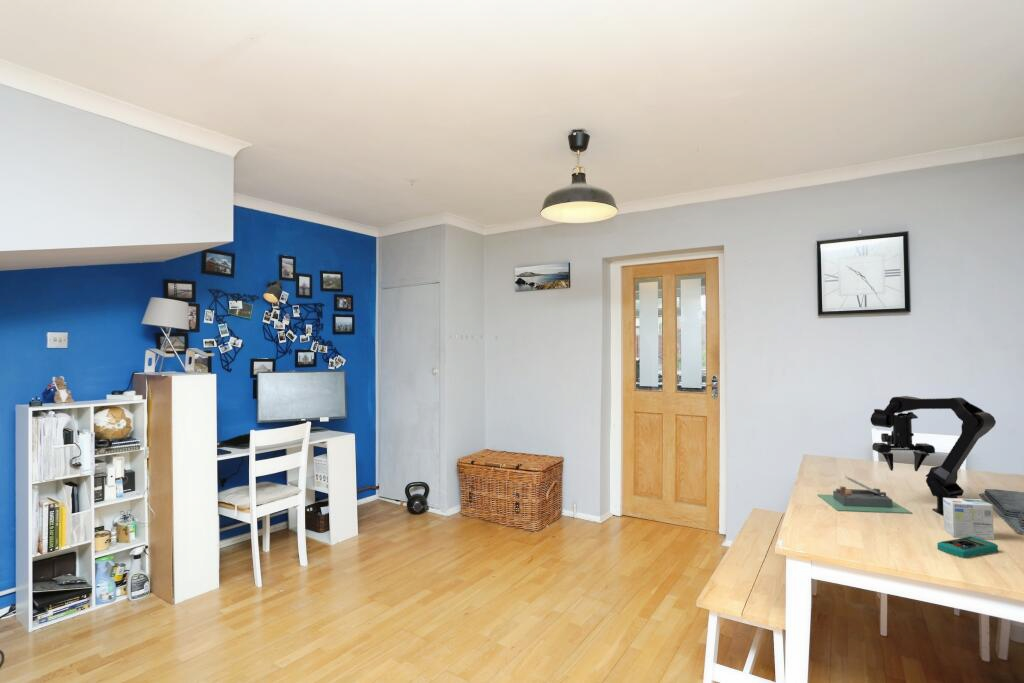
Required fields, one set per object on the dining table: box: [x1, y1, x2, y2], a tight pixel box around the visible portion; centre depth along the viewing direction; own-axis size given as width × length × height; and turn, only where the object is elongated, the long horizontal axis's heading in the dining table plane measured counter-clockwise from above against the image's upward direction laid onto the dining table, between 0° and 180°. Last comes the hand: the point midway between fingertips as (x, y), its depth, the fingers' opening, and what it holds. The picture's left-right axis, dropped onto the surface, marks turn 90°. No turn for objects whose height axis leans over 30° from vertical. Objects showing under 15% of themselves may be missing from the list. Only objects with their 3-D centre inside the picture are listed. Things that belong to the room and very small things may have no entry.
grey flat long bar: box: [844, 475, 879, 495], centre depth 200 cm, size 3×12×1 cm, turn 78°
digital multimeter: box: [937, 536, 999, 559], centre depth 155 cm, size 7×15×3 cm, turn 107°
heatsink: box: [832, 486, 893, 508], centre depth 200 cm, size 10×16×5 cm, turn 79°
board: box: [817, 493, 913, 515], centre depth 200 cm, size 20×24×1 cm
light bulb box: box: [943, 497, 995, 540], centre depth 167 cm, size 11×7×11 cm, turn 74°
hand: (903, 470), depth 201 cm, fingers open, 8 cm apart
